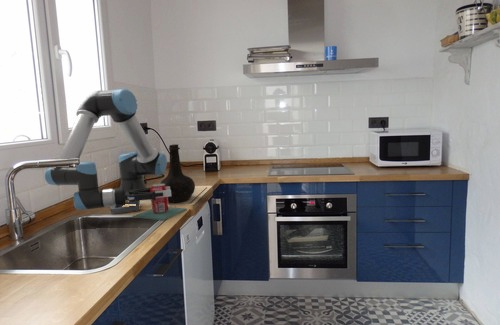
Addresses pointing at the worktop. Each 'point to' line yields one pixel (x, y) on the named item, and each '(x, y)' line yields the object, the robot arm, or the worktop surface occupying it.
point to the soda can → (159, 199)
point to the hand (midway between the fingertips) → (170, 191)
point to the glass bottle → (178, 178)
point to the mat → (160, 214)
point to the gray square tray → (125, 208)
